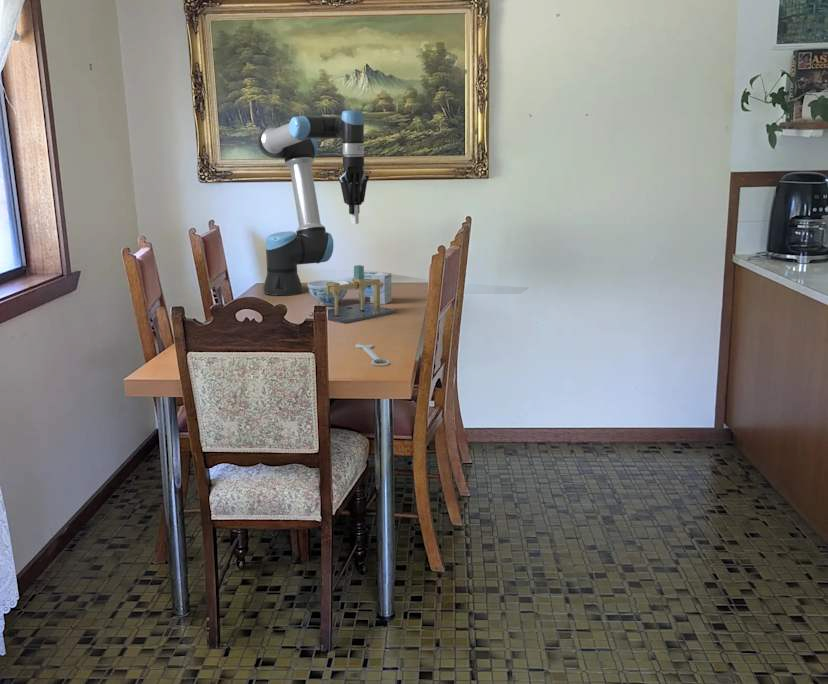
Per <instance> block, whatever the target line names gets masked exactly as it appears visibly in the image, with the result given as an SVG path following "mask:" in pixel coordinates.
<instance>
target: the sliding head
mask: <svg viewBox="0 0 828 684" xmlns="http://www.w3.org/2000/svg"><path fill="white" fill-rule="evenodd" d="M364 272H365V266H364V265H359V264H357V265H353V278H352V283H355V282H359V288H353V289H352V290H358V292H359V291H361V302H360V303H361V310H364V304H365V303H364V290H366V287H365V282H366V279H364Z"/></svg>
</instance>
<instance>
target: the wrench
mask: <svg viewBox="0 0 828 684" xmlns="http://www.w3.org/2000/svg"><path fill="white" fill-rule="evenodd" d="M354 346H355V347H356V349H357V348H359V349H358V350H363V351H364V352H365V353H366V354H367V355H368V356H369V357H370V358H371V359H372V360H371V361H370V362H371V363H370V364H371V366H374V367H387V366H389V365H390V361H389V360H387V359H385V358H380V357H379V356H378V355H377V353H376V352H375V351H373V350H372V349H373V348H374V344H362V343H358V344H355V345H354ZM355 347H354V348H355ZM372 347H373V348H372ZM384 362H386V363H384ZM381 363H382V364H381Z"/></svg>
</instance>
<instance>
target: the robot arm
mask: <svg viewBox="0 0 828 684" xmlns="http://www.w3.org/2000/svg"><path fill="white" fill-rule="evenodd" d="M364 127H365V121H364V113H363V111H361V110H343V111H342V113H341V116H304V115H300V116H293V117H292V118H291V119H290V121H289V123H286V124H283V125H282V126H278V127H269V128H266V129H264V130H263V131H262V132H260V134H259V135H258V139H257V145H258V146H257V147H258V148H259V150H260V152H261V153H262V154H264V155H265V156H266V157H268V158H272V159H278V160H279V159H281V160H282V159H283V160H284V165H285V166H286V167H287V168H289V170H290V172H289V173H290V178H291V182H292V183H291V185H292V191H293V196H294V203H295V208H296V214H297V215H296V216H297V220H298V222H297V223H298V228H297V229H296V231H292V230H291V231H290V230H289V231H280V232H274V233H271V234H269V235H268V236H266V238H265V239H266V240H265V253H266V277H265V280H264V284H263V288H262V289H263V290H262V292H265V293H268V294H277V295H285V296H294V295H293V294H295V295H300V294H302V293H303V286H302V283H301V279H300V276H299V274H298V265H307V264H309V265H310V264H320V263H321V264H322V263H326V262H328V261H329V260H331V258H332V255H333V254H334V253H333V252H334V238H333V236H332V233H330V232H327V231H326V227H325V226H324V225H323V224H321V223H322V222H321V218H320V213H319V212H320V211H319V205H318V199H317V193H316V187H315V179H314V175H313V169H312V164H313V163H314V162H315V158H316V157H317V155H318V153H319V152H318V149H319V145H318V139H329V140H330V139H335V140H339V139H341V140H342V144H341V145H342V146H341V147H342V155H343V157H342V167H343V168H344V169H343V174H342V175H341V176H338V181H339V183H340V187H341V192H342V193H341V194H342V198H343V202H344V204H346V205H348V213H349V215H350V216H349V217H350V218H349V220H350V224H355V225H356V224H357V225H358V224H359V220H360V219H359V214H360V210H361V209H360V206H361V205H362V204H363V203H364V202H365V197H366V191H367V184H368V181H369V178H370V176H369V175H366V173H365V171H364V167H365V157H364V156H363V155H364V154H365V145H364V143H365V141H364V140H365V138H364V137H365V135H364V134H365V133H364V131H365V128H364Z"/></svg>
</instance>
